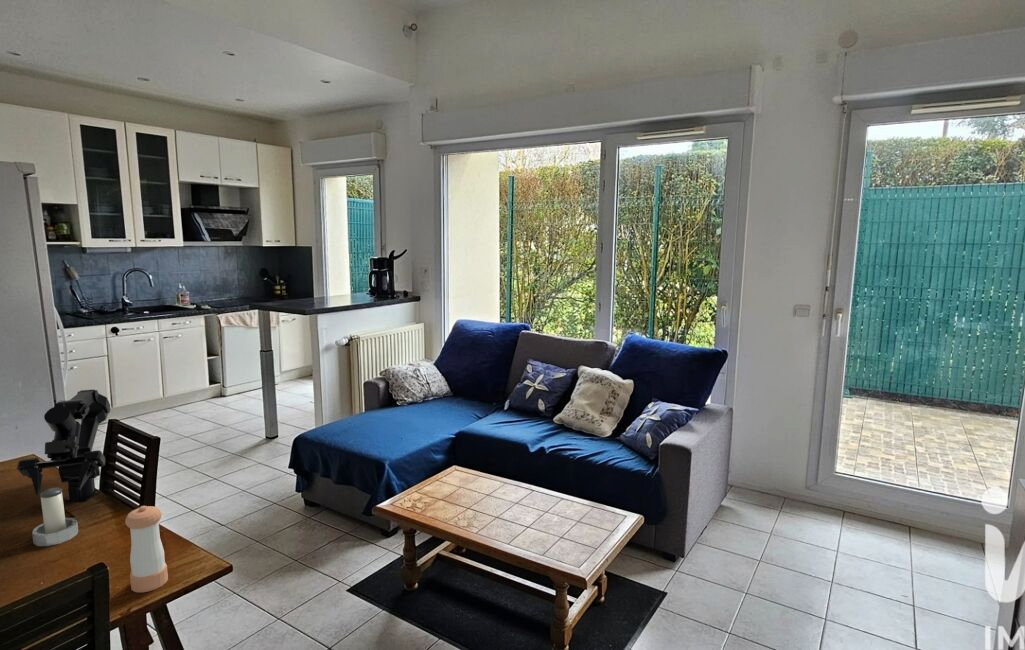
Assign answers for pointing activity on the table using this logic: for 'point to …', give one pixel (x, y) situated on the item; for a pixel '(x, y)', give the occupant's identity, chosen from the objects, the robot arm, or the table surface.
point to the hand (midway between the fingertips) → (58, 492)
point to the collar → (55, 534)
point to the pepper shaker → (146, 550)
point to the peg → (53, 510)
